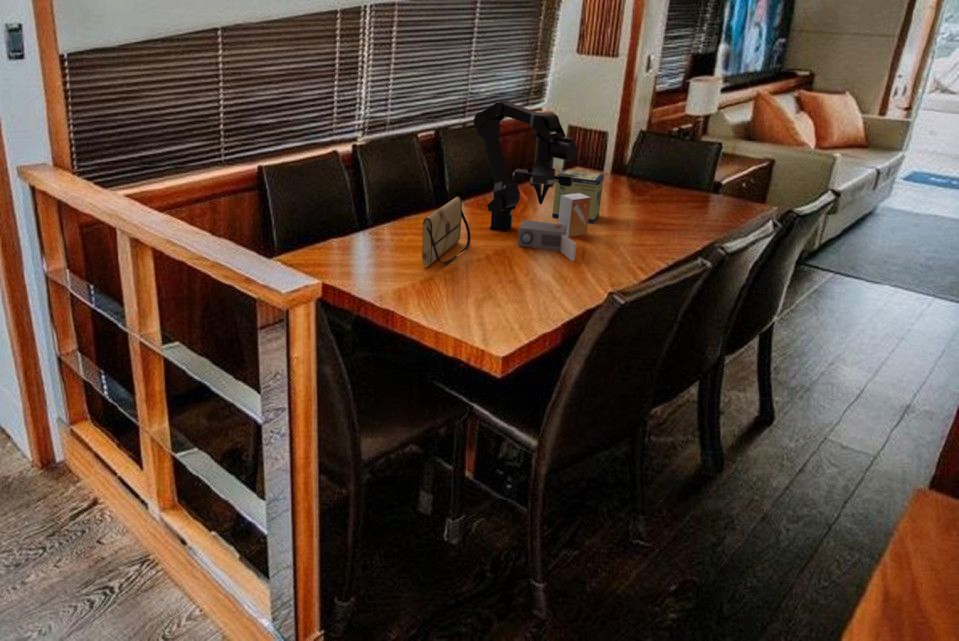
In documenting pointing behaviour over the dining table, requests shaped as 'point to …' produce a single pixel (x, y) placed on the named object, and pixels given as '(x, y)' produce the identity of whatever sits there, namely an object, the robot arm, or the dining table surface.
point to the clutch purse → (443, 231)
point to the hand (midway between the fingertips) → (540, 204)
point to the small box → (574, 213)
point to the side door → (568, 247)
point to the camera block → (541, 234)
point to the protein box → (581, 191)
